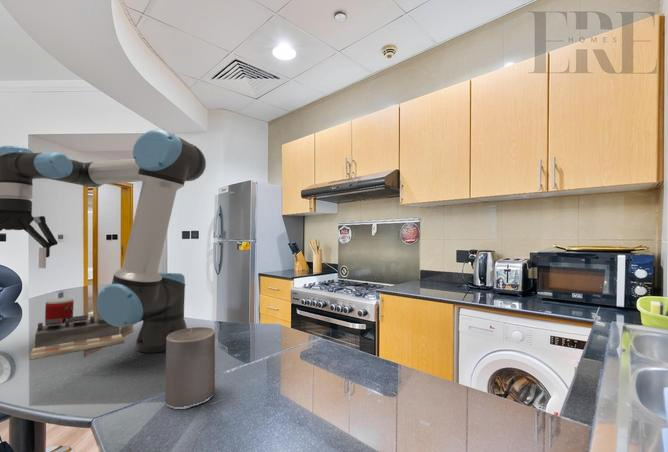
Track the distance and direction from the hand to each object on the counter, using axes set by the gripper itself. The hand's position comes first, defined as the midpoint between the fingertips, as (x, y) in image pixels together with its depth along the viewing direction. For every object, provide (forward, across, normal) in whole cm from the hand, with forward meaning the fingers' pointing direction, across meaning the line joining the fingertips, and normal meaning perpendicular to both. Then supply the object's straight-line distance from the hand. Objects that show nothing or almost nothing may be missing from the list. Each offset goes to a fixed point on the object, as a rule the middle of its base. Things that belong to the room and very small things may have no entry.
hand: (12, 270), depth 92 cm
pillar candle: (+26, -7, +68) cm, 73 cm away
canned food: (+25, -19, -19) cm, 36 cm away
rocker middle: (+18, -16, +2) cm, 24 cm away
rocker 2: (+18, -22, +5) cm, 29 cm away
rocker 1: (+18, -10, 0) cm, 20 cm away
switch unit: (+25, -15, +6) cm, 29 cm away
